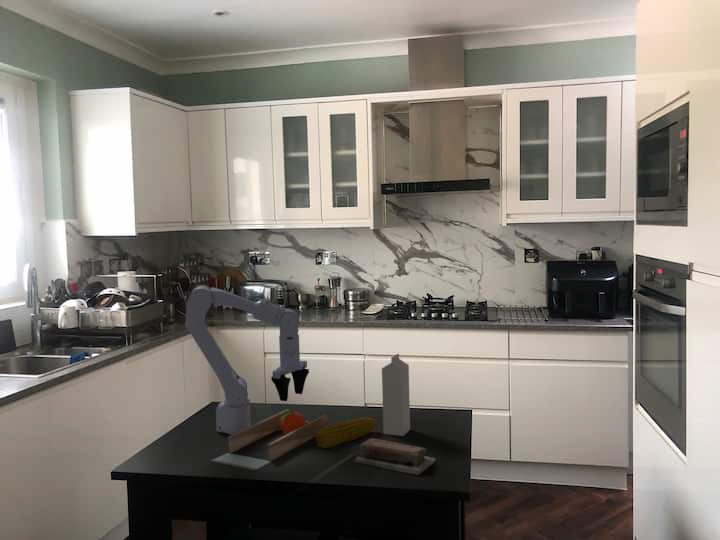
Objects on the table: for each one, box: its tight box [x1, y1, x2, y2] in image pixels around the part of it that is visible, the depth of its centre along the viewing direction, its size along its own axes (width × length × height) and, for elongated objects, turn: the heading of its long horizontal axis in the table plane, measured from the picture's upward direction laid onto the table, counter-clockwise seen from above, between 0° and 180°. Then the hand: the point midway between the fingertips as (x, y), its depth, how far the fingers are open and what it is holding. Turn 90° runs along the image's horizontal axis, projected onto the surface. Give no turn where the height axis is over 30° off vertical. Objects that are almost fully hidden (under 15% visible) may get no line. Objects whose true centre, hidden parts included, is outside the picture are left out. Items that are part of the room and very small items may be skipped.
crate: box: [227, 408, 329, 462], centre depth 176 cm, size 14×26×5 cm, turn 151°
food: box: [315, 416, 377, 449], centre depth 177 cm, size 21×6×6 cm, turn 138°
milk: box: [381, 353, 411, 437], centre depth 182 cm, size 6×6×22 cm
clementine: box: [278, 411, 306, 436], centre depth 181 cm, size 8×7×7 cm
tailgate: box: [210, 452, 272, 472], centre depth 162 cm, size 14×1×6 cm
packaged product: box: [354, 437, 436, 476], centre depth 160 cm, size 18×5×10 cm
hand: (291, 397), depth 187 cm, fingers open, 7 cm apart
